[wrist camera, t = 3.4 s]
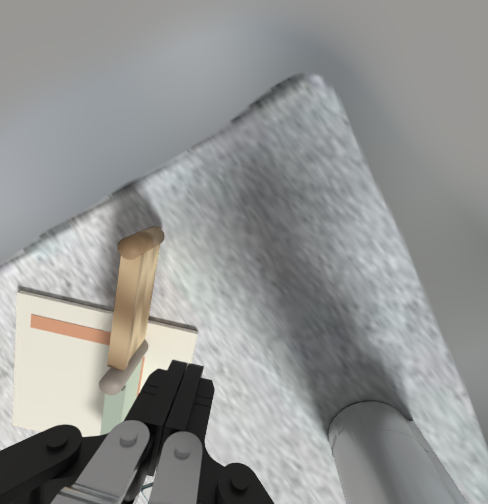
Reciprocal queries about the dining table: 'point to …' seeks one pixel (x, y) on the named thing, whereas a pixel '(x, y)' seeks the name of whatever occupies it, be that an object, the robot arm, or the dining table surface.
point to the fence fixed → (121, 390)
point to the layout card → (76, 361)
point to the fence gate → (133, 294)
